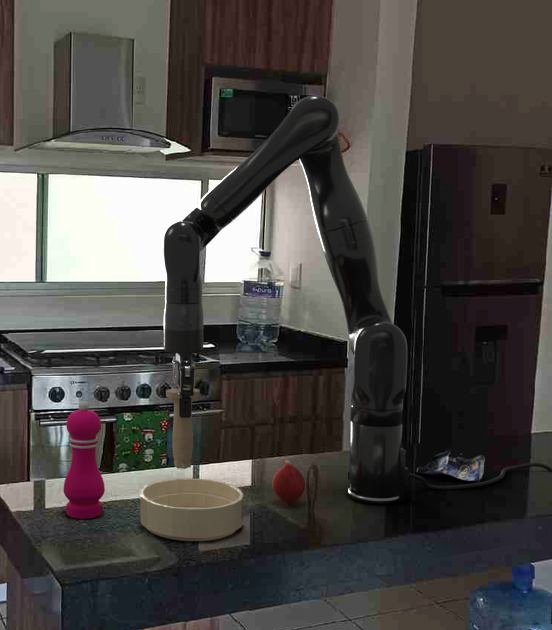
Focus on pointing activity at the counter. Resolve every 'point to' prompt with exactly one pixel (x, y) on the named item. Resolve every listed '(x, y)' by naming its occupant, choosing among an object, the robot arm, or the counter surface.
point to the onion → (288, 483)
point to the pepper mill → (83, 465)
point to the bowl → (191, 509)
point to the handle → (182, 431)
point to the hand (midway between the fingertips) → (183, 414)
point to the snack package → (455, 467)
